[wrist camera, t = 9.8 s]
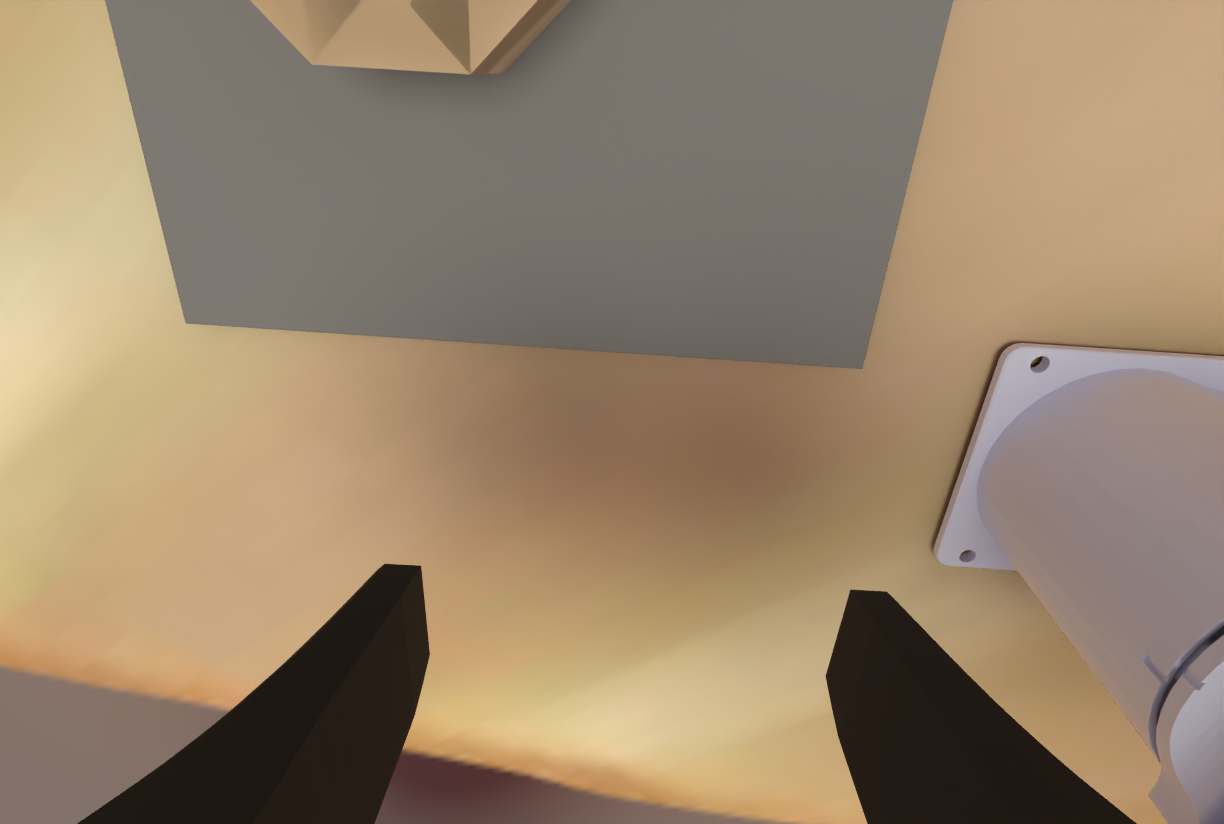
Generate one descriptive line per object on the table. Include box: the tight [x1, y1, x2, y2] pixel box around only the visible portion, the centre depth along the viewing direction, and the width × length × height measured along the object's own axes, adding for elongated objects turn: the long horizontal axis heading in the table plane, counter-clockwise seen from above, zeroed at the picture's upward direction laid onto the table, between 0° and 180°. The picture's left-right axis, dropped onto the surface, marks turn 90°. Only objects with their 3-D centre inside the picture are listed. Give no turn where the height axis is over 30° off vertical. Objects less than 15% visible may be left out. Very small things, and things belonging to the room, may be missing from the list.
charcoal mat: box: [105, 0, 953, 369], centre depth 16 cm, size 20×17×1 cm
